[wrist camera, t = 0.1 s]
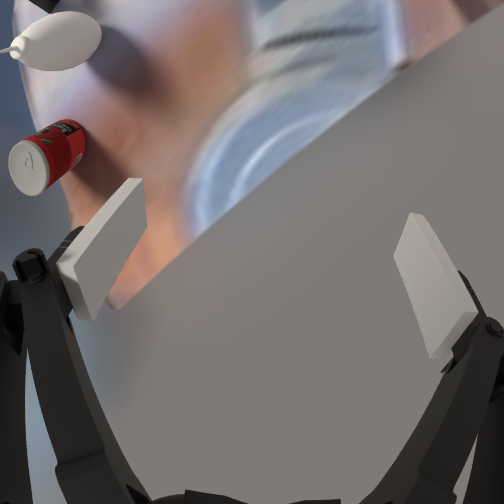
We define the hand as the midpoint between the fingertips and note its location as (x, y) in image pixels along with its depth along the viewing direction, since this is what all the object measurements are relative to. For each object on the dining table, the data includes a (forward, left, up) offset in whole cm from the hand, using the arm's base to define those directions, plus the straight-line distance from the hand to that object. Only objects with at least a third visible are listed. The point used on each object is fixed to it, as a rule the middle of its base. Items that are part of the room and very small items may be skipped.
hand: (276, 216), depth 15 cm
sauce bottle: (-10, -26, -28) cm, 40 cm away
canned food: (+6, -31, -28) cm, 43 cm away
